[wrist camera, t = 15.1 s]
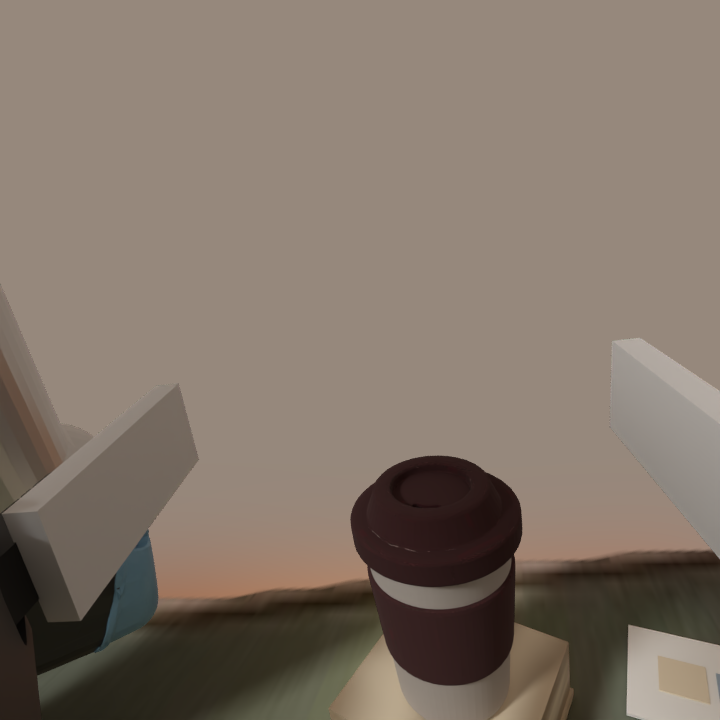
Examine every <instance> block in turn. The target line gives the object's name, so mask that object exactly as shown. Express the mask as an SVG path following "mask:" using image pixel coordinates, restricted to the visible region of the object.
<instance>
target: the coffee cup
mask: <svg viewBox="0 0 720 720" xmlns="http://www.w3.org/2000/svg"><path fill="white" fill-rule="evenodd" d="M521 517H522V516H521V507H520V503H519V500H518V498H517V496H516V495H515V493H514V492H513V491H512V489H511V488H510V487H509V486H507V485H506V484H505V483H504V482H503V481H502V480H500V479H498V478H496V477H495V476H493V475H490V474H489V473H486V472H484V470H482V469H481V468H480V467H478V466H477V465H476V464H474V463H471V462H469V461H467V460H464V459H460V458H456V457H449V456H425V457H418V458H413V459H410V460H406V461H403V462H401V463H398V464H396V465H394V466H392V467H391V468H389V469H387V470H386V471H385V472H384V473H383V474H382V475H381V476H380V477H379V478H378V479H377V480H376V482H375V483H374V484H372V485H371V486H370V487H369V488H367V489H366V490H365V491H364V492H363V493H362V494H361V495H360V497H359V498H358V499H357V501H356V503H355V505H354V507H353V509H352V513H351V528H352V534H353V539H354V544H355V547H356V550H357V552H358V554H359V555H360V557H361V559H362V560H363V561H364V562H365V563H366V564H367V565H368V575H369V579H370V583H371V587H372V591H373V595H374V599H375V603H376V607H377V611H378V614H379V618H380V622H381V626H382V630H383V634H384V638H385V642H386V645H387V647H388V650H389V652H390V654H391V655H392V657H393V660H394V664H395V668H396V671H397V675H398V679H399V683H400V687H401V690H402V693H403V695H404V697H405V699H406V700H407V702H408V703H409V705H410V706H411V707H412V708H413V709H414V710H415V711H416V712H417V713H418V714H419V715H421V716H422V717H423V718H424V719H426V720H488V719H489V718H490V717H491V716H493V715H494V714H495V713H496V712H497V711H498V710H499V709H500V707H501V706H502V705H503V703H504V701H505V699H506V697H507V693H508V690H509V684H510V651H511V648H512V645H513V639H514V611H515V557H514V553H515V551H516V550H517V548H518V546H519V544H520V541H521V536H522V518H521Z"/></svg>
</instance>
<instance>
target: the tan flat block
mask: <svg viewBox="0 0 720 720" xmlns="http://www.w3.org/2000/svg"><path fill="white" fill-rule="evenodd" d="M573 696H574V689H573V688H571V687H570V671H569V642H567V641H564V640H561V639H559V638H556V637H553V636H550V635H548V634H545V633H542V632H539V631H537V630H534V629H531V628H528V627H526V626H523V625H520V624H517V623H515V622H514V639H513V645H512V648H511V651H510V684H509V690H508V693H507V697H506V699H505V701H504V703H503V705H502V706H501V707H500V709H499V710H498V711H497V712H496V713H495V714H494V715H493V716H491V717H490V718H489V719H488V720H566V719H567V716H568V713H569V709H570V706H571V703H572V700H573ZM329 712H330V717H331V720H426V719H424V718H423V717H422V716H421V715H419V714H418V713H417V712H416V711H415V710H414V709H413V708H412V707H411V706H410V705H409V703H408V702H407V700H406V699H405V697H404V695H403V693H402V690H401V687H400V683H399V679H398V675H397V671H396V668H395V664H394V660H393V657H392V655H391V654H390V652H389V650H388V647H387V645H386V642H385V638H384V634H383V635H382V636H381V637H380V639H379V640H378V642H377V643H376V644H375V646H374V647H373V648H372V650H371V651H370V652H369V654H368V655H367V657H366V658H365V659H364V661H363V662H362V663H361V665H360V666H359V668H358V669H357V670H356V672H355V673H354V674H353V676H352V677H351V678H350V680H349V681H348V683H347V684H346V685H345V687H344V688H343V689H342V691H341V692H340V693H339V695H338V696H337V698H336V699H335V700H334V702H333V703H332V704H331V706H330V707H329Z"/></svg>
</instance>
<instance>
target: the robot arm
mask: <svg viewBox="0 0 720 720" xmlns="http://www.w3.org/2000/svg"><path fill="white" fill-rule="evenodd" d="M610 428H611V429H612V430H613V432H614V433H615V434H616V435H617V436H618V438H619V439H620V440H621V441H622V442H623V444H625V446H626V447H627V448H628V450H629V451H630V452H631V453H632V454H633V456H634V457H635V458H636V459H637V460H638V462H639V463H640V464H641V465H642V466H643V468H645V470H646V471H647V472H648V474H649V475H650V476H651V477H652V478H653V480H654V481H655V482H656V483H657V484H658V486H659V487H660V488H661V489H662V490H663V492H664V493H665V494H666V495H667V496H668V497H669V499H670V500H671V501H672V502H673V504H674V505H675V506H676V507H677V508H678V509H679V511H680V512H681V513H682V514H683V516H684V517H685V518H686V519H687V520H688V522H689V523H690V524H691V525H692V526H693V527H694V529H695V530H696V531H697V532H698V533H699V535H700V536H701V537H702V538H703V539H704V541H705V542H706V543H707V544H708V546H709V547H710V548H711V549H712V550H713V552H714V553H715V554H716V555H717V556H718V558H719V559H720V391H719V390H717V389H716V388H714V387H713V386H711V385H710V384H708V383H707V382H705V381H704V380H702V379H701V378H699V377H698V376H696V375H695V374H693V373H692V372H690V371H689V370H687V369H686V368H684V367H683V366H681V365H680V364H678V363H677V362H675V361H674V360H672V359H671V358H669V357H668V356H666V355H665V354H663V353H662V352H660V351H659V350H658V349H656V348H654V347H653V346H652V345H650V344H649V343H647V342H646V341H644V340H643V339H641V338H635V339H625V340H615V341H612V362H611V400H610ZM198 460H199V459H198V455H197V451H196V447H195V444H194V440H193V437H192V433H191V428H190V425H189V421H188V417H187V413H186V410H185V406H184V402H183V399H182V395H181V391H180V387H179V384H168V385H158V386H155V387H154V388H152V389H151V390H150V391H149V392H148V393H146V394H145V395H144V396H143V397H142V398H140V399H139V400H138V401H137V402H136V403H134V404H133V405H132V406H131V407H130V408H128V409H127V410H126V411H125V412H124V413H123V414H121V415H120V416H119V417H118V418H117V419H115V420H114V421H113V422H112V423H111V424H109V425H108V426H107V427H106V428H104V429H103V430H102V431H101V432H99V433H98V434H97V435H96V436H95V437H93V436H92V435H91V434H89V433H88V432H86V431H84V430H82V429H80V428H77V427H75V426H72V425H67V424H63V423H60V422H59V419H58V417H57V414H56V412H55V410H54V408H53V405H52V403H51V401H50V398H49V396H48V394H47V391H46V389H45V387H44V384H43V382H42V380H41V377H40V375H39V373H38V370H37V368H36V366H35V364H34V361H33V359H32V356H31V354H30V352H29V349H28V347H27V345H26V342H25V340H24V338H23V335H22V334H21V331H20V329H19V326H18V324H17V321H16V319H15V317H14V314H13V312H12V310H11V307H10V305H9V303H8V300H7V298H6V296H5V293H4V292H3V289H2V287H1V284H0V720H42V718H41V709H40V700H39V691H38V681H37V676H38V675H40V674H42V673H45V672H47V671H50V670H52V669H54V668H57V667H59V666H61V665H64V664H66V663H69V662H71V661H73V660H76V659H78V658H80V657H83V656H85V655H88V654H90V653H92V652H95V653H96V652H99V651H101V650H103V649H104V648H106V647H107V646H108V645H109V643H111V642H113V641H115V640H117V639H119V638H121V637H123V636H125V635H127V634H129V633H131V632H133V631H135V630H137V629H139V628H141V627H142V626H144V625H145V624H146V623H147V622H148V621H149V620H150V619H151V618H152V616H153V615H154V613H155V611H156V608H157V604H158V588H157V579H156V572H155V565H154V559H153V553H152V547H151V542H150V538H149V534H148V533H149V530H148V528H149V527H150V526H151V524H152V523H153V522H154V520H155V519H156V517H157V516H158V515H159V513H160V512H161V511H162V509H163V508H164V506H165V505H166V504H167V502H168V501H169V500H170V498H171V497H172V496H173V494H174V493H175V491H176V490H177V489H178V487H179V486H180V485H181V483H182V482H183V480H184V479H185V478H186V476H187V475H188V473H189V472H190V471H191V470H192V468H193V467H194V465H195V464H196V463H197V461H198Z"/></svg>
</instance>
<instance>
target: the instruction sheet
mask: <svg viewBox="0 0 720 720" xmlns="http://www.w3.org/2000/svg"><path fill="white" fill-rule="evenodd" d="M627 715H628V716H631V717H634V718H637V719H641V720H720V645H715V644H711V643H707V642H702V641H698V640H693V639H689V638H685V637H680V636H676V635H672V634H667V633H663V632H658V631H654V630H650V629H645V628H641V627H637V626H632V625H628V670H627Z"/></svg>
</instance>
